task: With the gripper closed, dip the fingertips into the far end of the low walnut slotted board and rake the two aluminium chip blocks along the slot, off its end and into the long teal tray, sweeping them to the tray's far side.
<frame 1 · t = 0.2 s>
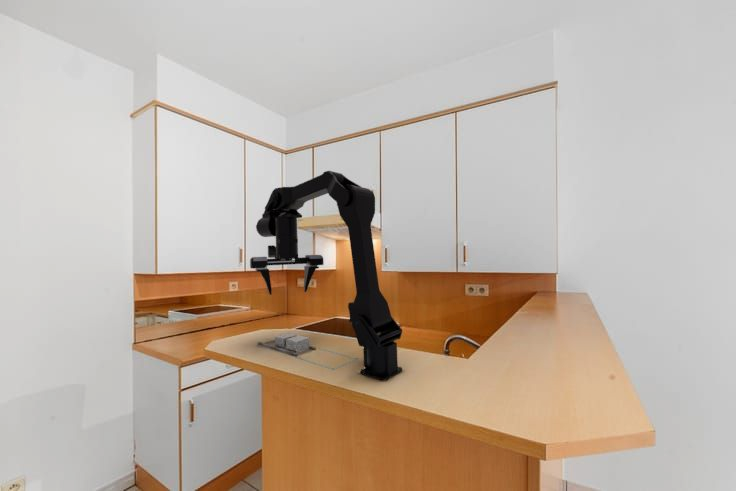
hand: (288, 293, 83), 15 cm above the table, fingers open, 9 cm apart
slot board: (285, 351, 80), on the table
tray: (326, 363, 71), on the table
near chip: (298, 350, 76), point 1 cm above the table, touching slot board
cork: (380, 350, 78), on the table
far chip: (286, 347, 80), point 1 cm above the table, touching slot board
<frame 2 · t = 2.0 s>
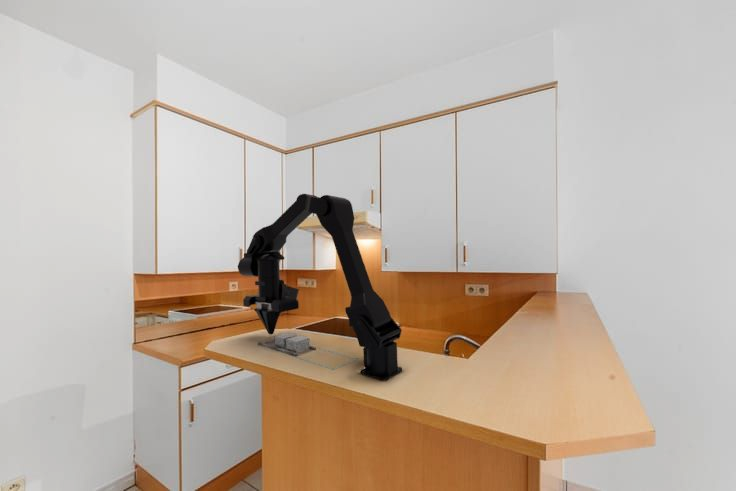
hand: (271, 333, 84), 4 cm above the table, fingers closed
nothing on the table moved.
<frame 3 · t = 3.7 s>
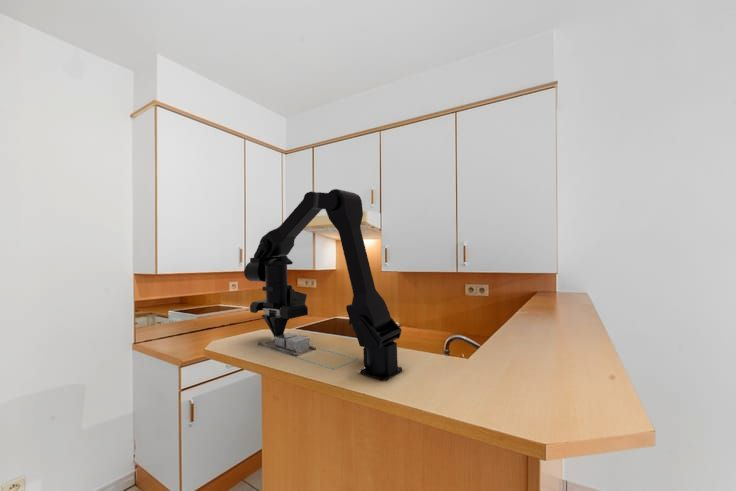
hand: (279, 340, 82), 2 cm above the table, fingers closed
far chip: (286, 347, 80), point 1 cm above the table, touching gripper, slot board
everything else where it was.
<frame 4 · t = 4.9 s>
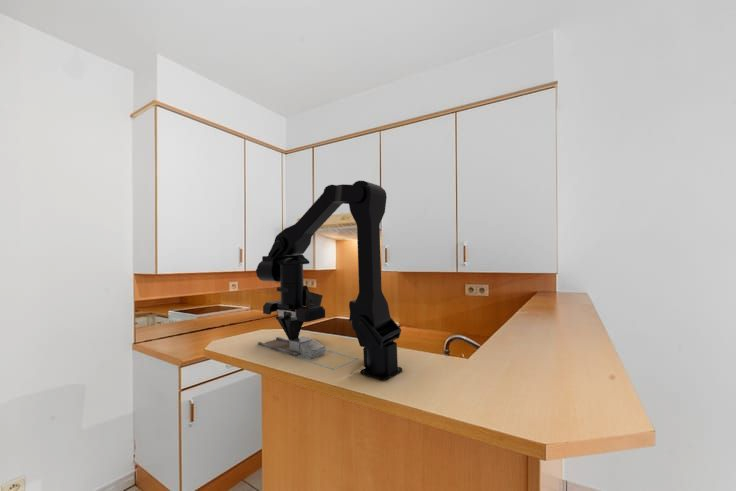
hand: (293, 344, 78), 3 cm above the table, fingers closed
near chip: (311, 357, 73), point 1 cm above the table, tilted 11°, touching far chip, tray
far chip: (301, 351, 75), point 1 cm above the table, touching gripper, near chip
everything else where it was.
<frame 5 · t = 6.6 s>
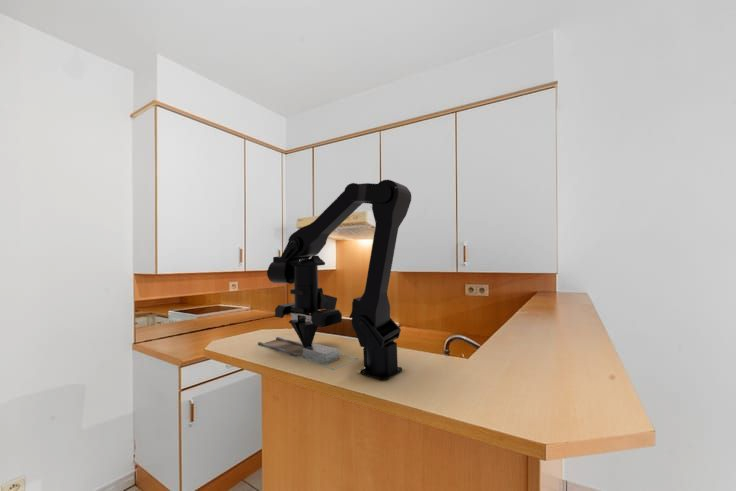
hand: (307, 349, 74), 2 cm above the table, fingers closed
near chip: (326, 363, 69), resting on tray, touching far chip
far chip: (315, 359, 72), resting on tray, touching gripper, near chip
everything else where it was.
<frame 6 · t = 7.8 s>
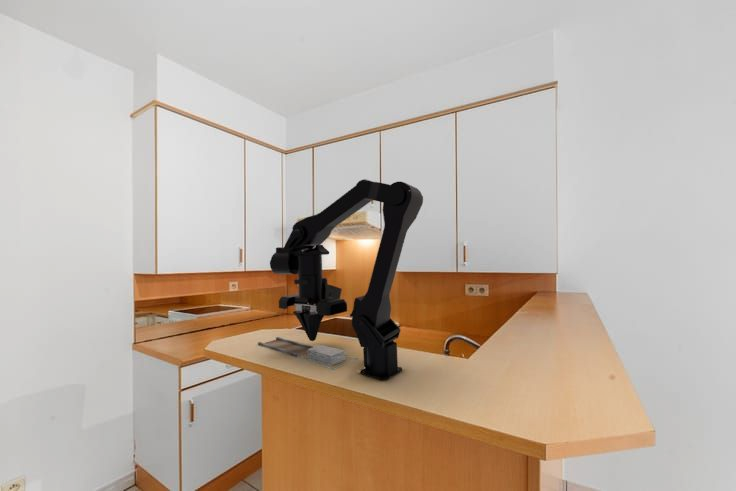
hand: (312, 340, 73), 5 cm above the table, fingers closed
near chip: (332, 365, 68), resting on tray
far chip: (320, 361, 71), resting on tray
everything else where it was.
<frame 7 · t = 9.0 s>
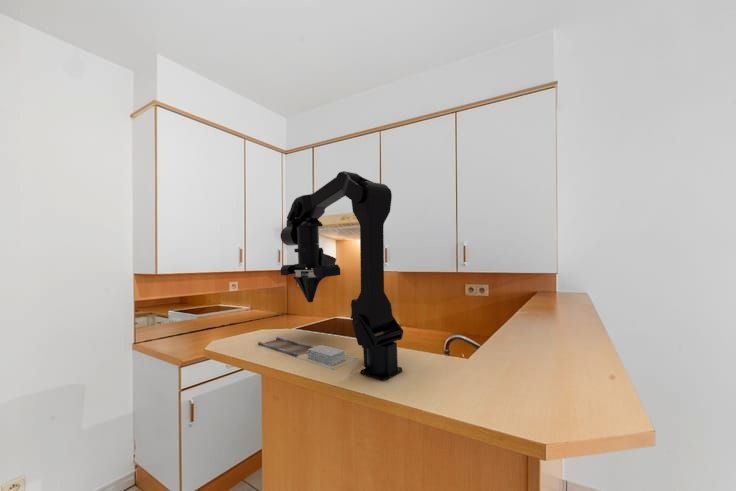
hand: (310, 302, 83), 12 cm above the table, fingers closed
nothing on the table moved.
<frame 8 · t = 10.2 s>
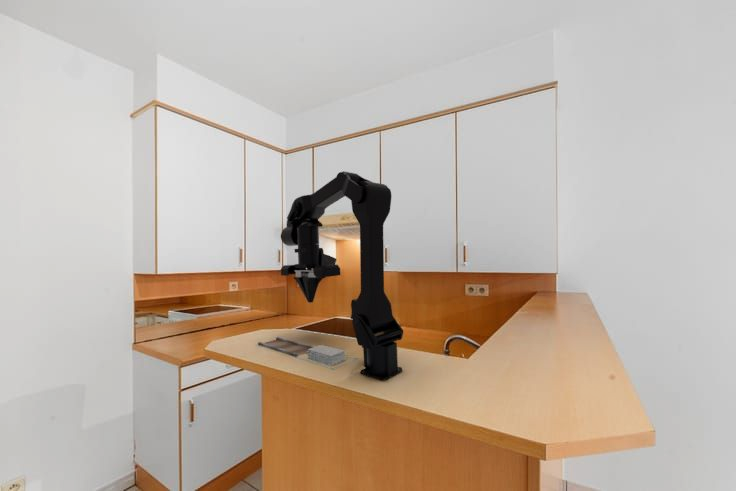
hand: (310, 302, 83), 12 cm above the table, fingers closed
nothing on the table moved.
at the end: near chip inside the target area (2.8 cm from its centre), resting on tray; far chip inside the target area (1.5 cm from its centre), resting on tray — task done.
